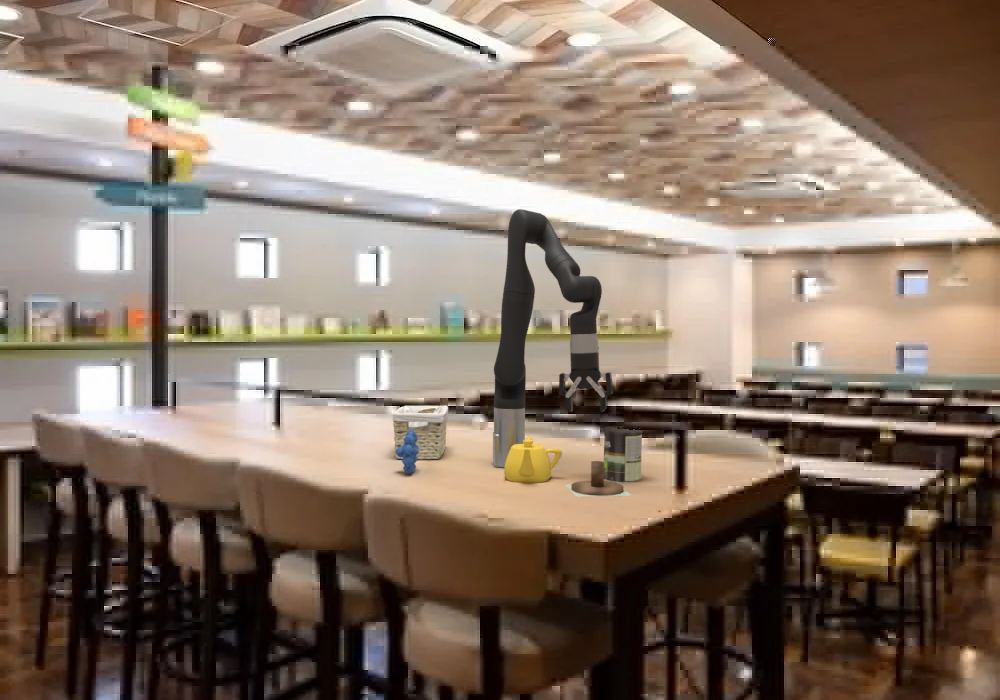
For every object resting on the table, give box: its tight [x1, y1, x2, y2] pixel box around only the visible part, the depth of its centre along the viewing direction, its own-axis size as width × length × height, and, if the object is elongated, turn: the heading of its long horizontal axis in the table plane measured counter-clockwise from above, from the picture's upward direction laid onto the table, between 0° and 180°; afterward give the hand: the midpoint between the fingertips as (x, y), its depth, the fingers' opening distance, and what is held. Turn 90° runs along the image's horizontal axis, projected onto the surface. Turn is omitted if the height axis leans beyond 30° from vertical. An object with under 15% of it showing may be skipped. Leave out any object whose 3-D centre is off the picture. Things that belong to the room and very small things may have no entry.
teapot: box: [503, 436, 563, 484], centre depth 206 cm, size 22×16×11 cm
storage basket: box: [392, 405, 449, 460], centre depth 244 cm, size 24×16×15 cm
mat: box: [564, 483, 633, 498], centre depth 191 cm, size 14×14×1 cm
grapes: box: [394, 430, 419, 475], centre depth 214 cm, size 12×7×12 cm, turn 177°
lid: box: [571, 460, 625, 497], centre depth 191 cm, size 13×13×7 cm
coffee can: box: [603, 426, 643, 484], centre depth 205 cm, size 10×10×14 cm
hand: (586, 411), depth 204 cm, fingers open, 8 cm apart
